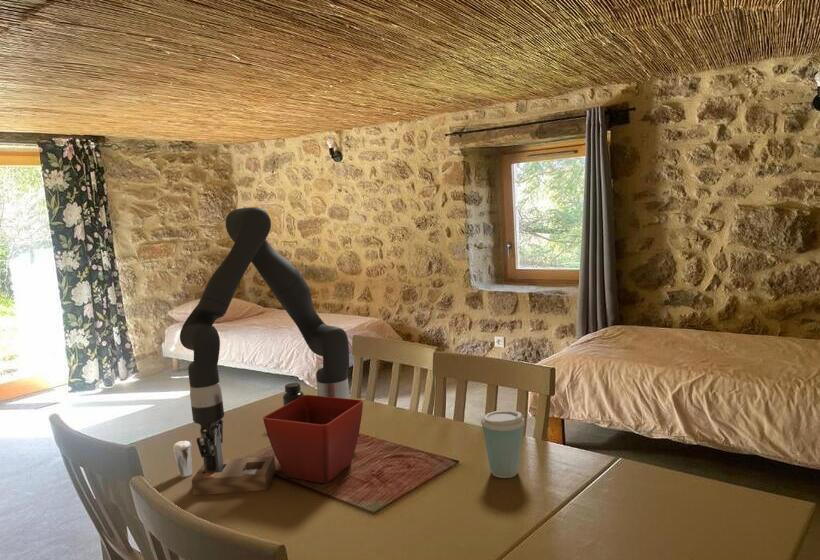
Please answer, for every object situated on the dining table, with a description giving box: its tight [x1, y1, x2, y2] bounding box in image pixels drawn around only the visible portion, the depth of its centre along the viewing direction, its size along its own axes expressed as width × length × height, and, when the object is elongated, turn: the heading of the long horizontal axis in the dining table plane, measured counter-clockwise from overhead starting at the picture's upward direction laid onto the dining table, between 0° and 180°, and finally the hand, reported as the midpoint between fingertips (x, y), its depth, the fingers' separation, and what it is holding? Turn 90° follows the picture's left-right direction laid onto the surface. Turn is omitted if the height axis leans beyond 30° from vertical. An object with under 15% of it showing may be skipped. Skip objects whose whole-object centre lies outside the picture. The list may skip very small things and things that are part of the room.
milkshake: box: [172, 438, 193, 478], centre depth 161 cm, size 4×5×10 cm
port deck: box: [191, 455, 277, 496], centre depth 155 cm, size 18×11×4 cm, turn 91°
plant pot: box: [262, 394, 364, 484], centre depth 157 cm, size 19×19×17 cm
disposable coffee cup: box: [480, 409, 526, 479], centre depth 149 cm, size 11×11×15 cm
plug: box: [202, 434, 224, 473], centre depth 154 cm, size 4×4×12 cm
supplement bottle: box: [282, 382, 305, 406], centre depth 196 cm, size 7×7×12 cm
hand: (214, 466), depth 154 cm, fingers closed on plug, 3 cm apart
